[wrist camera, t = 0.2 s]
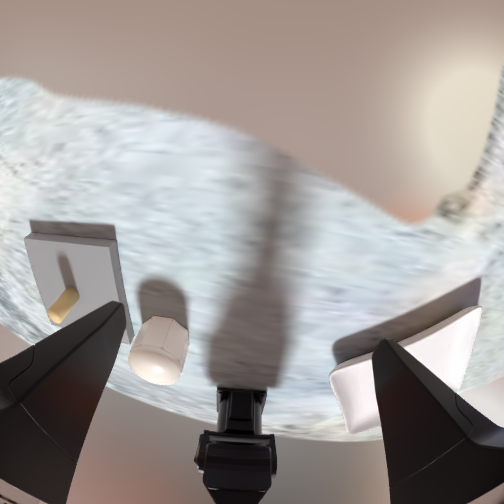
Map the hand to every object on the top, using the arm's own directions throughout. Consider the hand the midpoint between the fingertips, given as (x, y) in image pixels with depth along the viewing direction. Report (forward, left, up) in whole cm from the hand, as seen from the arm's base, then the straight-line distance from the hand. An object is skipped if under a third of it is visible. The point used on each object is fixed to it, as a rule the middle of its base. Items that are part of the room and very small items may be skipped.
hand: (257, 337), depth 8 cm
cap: (-15, +9, -14) cm, 23 cm away
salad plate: (-21, -23, -15) cm, 35 cm away
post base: (-10, +19, -14) cm, 25 cm away
